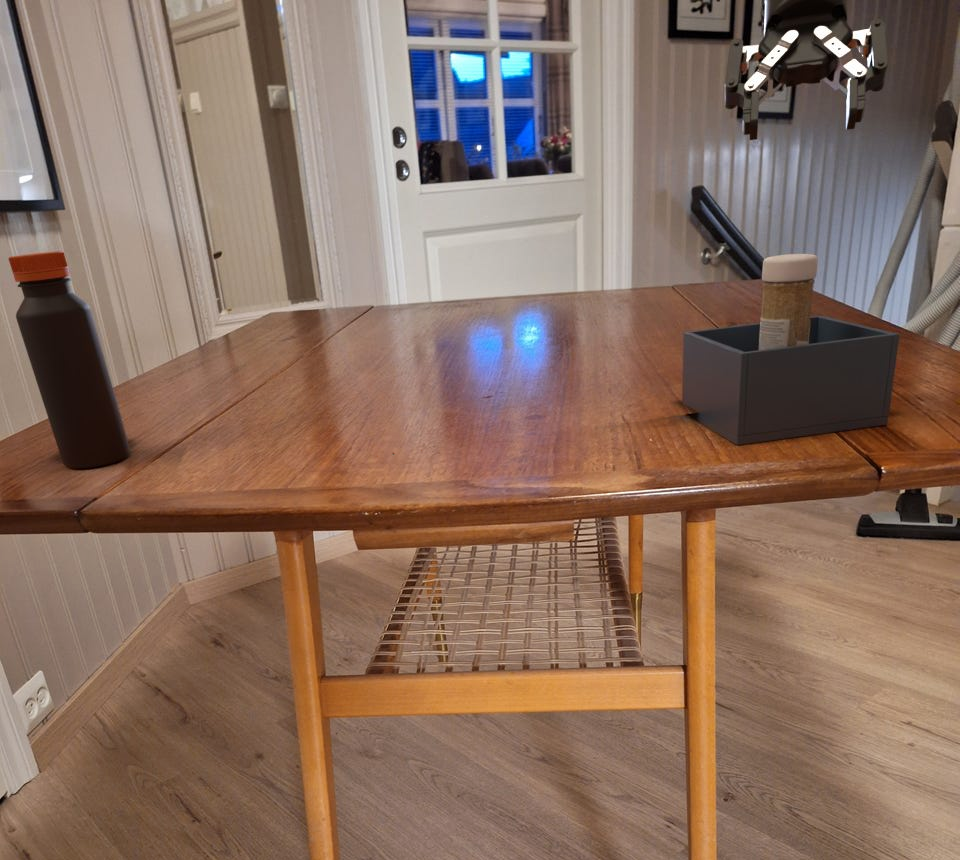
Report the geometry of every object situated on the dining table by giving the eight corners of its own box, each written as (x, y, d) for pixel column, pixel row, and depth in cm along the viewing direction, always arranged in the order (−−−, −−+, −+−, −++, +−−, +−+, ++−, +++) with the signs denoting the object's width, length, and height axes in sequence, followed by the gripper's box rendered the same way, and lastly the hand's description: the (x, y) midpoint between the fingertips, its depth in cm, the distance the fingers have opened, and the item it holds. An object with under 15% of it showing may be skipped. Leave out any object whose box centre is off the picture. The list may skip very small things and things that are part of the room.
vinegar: (75, 455, 94) (12, 255, 85) (138, 448, 94) (83, 248, 85) (54, 473, 88) (-15, 260, 79) (122, 465, 88) (60, 252, 79)
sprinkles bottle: (813, 411, 81) (828, 254, 74) (768, 417, 80) (779, 259, 74) (788, 401, 85) (800, 251, 78) (744, 407, 84) (753, 256, 78)
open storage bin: (813, 395, 89) (821, 315, 85) (887, 425, 77) (900, 333, 74) (681, 412, 88) (683, 331, 84) (736, 445, 76) (741, 353, 72)
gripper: (730, -32, 83) (722, 102, 79) (892, -59, 79) (894, 81, 75) (729, 40, 90) (722, 168, 85) (878, 19, 86) (879, 151, 81)
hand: (802, 127), depth 80 cm, fingers open, 8 cm apart
